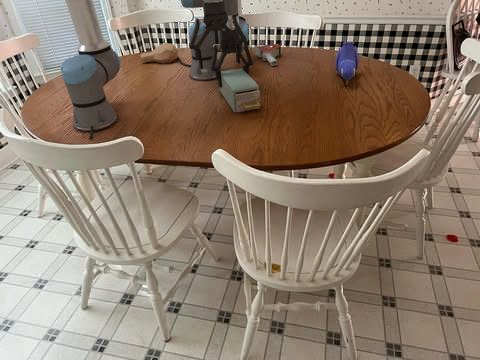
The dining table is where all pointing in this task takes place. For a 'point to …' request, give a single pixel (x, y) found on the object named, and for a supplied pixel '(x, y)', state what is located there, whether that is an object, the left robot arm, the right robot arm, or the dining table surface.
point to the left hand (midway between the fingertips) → (220, 65)
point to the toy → (347, 61)
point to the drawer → (248, 100)
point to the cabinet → (235, 85)
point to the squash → (161, 54)
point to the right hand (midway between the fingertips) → (233, 84)
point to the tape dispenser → (269, 53)
